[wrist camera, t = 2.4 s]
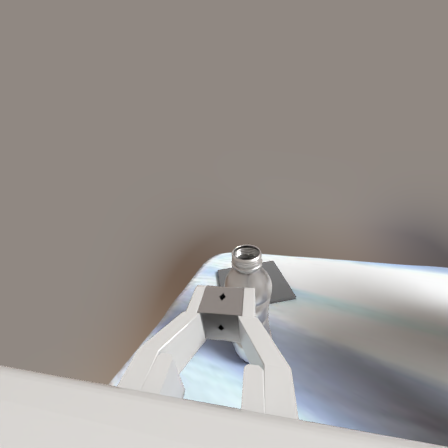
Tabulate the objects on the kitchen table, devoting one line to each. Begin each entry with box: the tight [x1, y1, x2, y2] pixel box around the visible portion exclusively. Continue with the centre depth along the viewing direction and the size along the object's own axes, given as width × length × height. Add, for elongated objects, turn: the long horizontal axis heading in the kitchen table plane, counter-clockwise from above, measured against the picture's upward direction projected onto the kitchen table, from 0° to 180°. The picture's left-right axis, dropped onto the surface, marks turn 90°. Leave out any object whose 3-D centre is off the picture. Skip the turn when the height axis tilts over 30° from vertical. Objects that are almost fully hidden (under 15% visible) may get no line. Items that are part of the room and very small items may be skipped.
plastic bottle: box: [224, 245, 273, 362], centre depth 26 cm, size 6×7×20 cm
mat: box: [218, 261, 296, 304], centre depth 44 cm, size 16×13×1 cm
